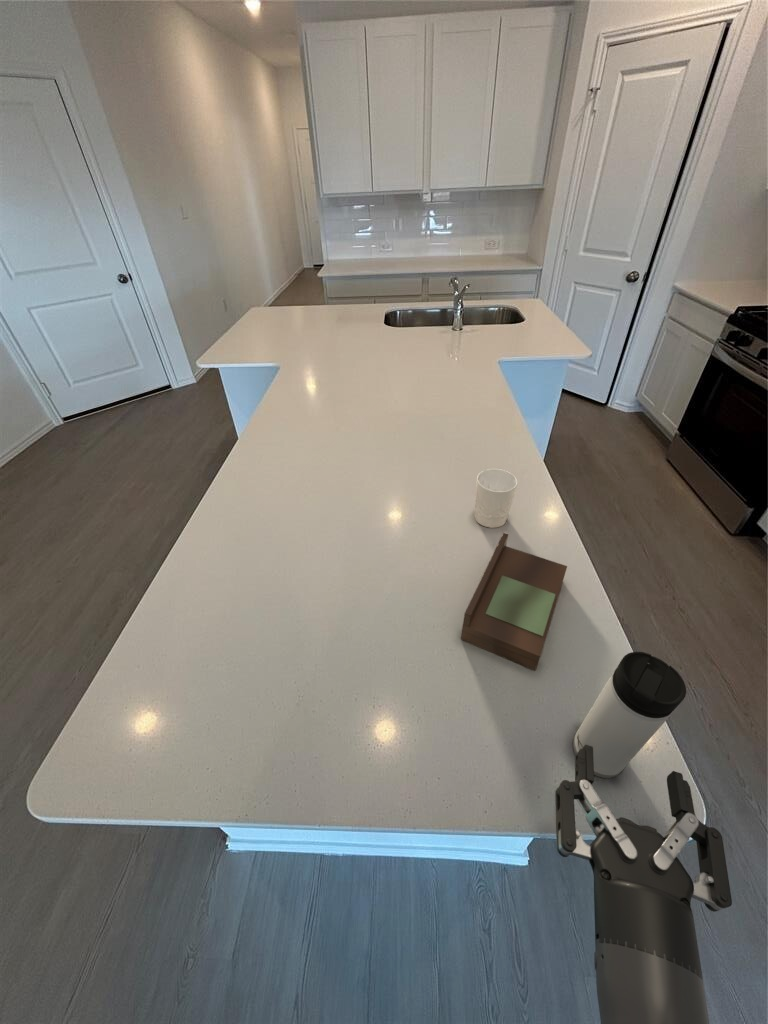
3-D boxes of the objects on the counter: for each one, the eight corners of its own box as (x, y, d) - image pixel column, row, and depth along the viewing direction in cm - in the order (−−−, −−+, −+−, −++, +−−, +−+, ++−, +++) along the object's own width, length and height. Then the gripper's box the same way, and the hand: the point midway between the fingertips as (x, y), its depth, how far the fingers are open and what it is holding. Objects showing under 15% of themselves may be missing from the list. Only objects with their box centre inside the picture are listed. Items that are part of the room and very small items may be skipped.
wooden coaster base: (561, 580, 80) (571, 554, 75) (535, 670, 67) (544, 645, 62) (497, 559, 84) (503, 532, 80) (460, 639, 71) (464, 613, 67)
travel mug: (562, 756, 57) (610, 677, 44) (584, 718, 61) (634, 635, 48) (610, 792, 54) (677, 719, 41) (630, 750, 58) (698, 671, 45)
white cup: (511, 510, 95) (520, 472, 89) (506, 533, 90) (514, 495, 83) (475, 502, 97) (481, 465, 91) (467, 525, 92) (473, 487, 85)
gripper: (777, 1009, 31) (722, 769, 43) (565, 924, 35) (567, 724, 46) (726, 1011, 36) (689, 795, 48) (544, 936, 39) (551, 753, 51)
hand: (629, 760), depth 47 cm, fingers open, 8 cm apart
